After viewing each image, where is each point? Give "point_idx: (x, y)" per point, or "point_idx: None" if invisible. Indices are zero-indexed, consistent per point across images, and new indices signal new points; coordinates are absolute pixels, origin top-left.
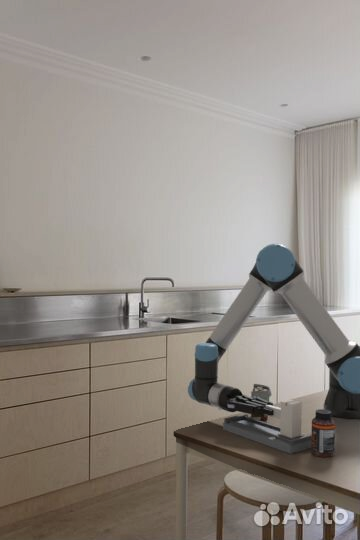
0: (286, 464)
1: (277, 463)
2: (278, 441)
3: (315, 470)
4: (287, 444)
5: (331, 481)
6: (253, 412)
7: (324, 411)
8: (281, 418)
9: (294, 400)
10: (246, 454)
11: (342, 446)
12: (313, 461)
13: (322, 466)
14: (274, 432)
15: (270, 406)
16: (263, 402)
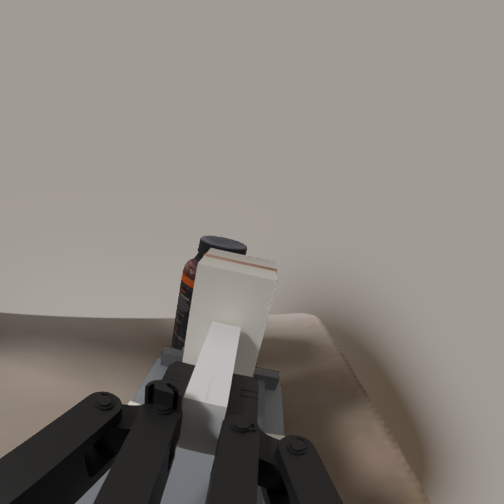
0: (339, 385)
1: (356, 397)
2: (278, 419)
3: (306, 349)
4: (276, 393)
5: (319, 329)
6: (287, 500)
7: (224, 240)
8: (257, 356)
9: (204, 256)
10: (400, 464)
11: (110, 333)
12: (268, 360)
13: (276, 346)
14: (185, 469)
15: (222, 378)
16: (120, 453)
